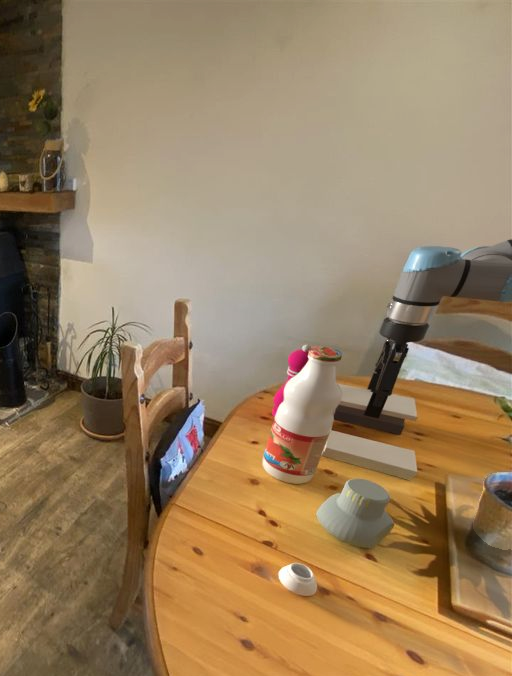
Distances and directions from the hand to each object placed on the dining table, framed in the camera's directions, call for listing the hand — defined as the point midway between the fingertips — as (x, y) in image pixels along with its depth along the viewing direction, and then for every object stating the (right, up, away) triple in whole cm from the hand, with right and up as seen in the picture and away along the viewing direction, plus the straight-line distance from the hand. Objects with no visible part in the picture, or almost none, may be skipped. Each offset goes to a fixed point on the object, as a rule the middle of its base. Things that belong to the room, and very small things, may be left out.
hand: (371, 406), depth 102 cm
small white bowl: (-44, -27, -36) cm, 63 cm away
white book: (0, +1, 0) cm, 1 cm away
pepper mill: (-17, -3, +6) cm, 18 cm away
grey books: (0, -4, +2) cm, 4 cm away
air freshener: (-29, -21, -28) cm, 45 cm away
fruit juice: (-30, -13, -12) cm, 35 cm away
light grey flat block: (-11, -11, -10) cm, 18 cm away
